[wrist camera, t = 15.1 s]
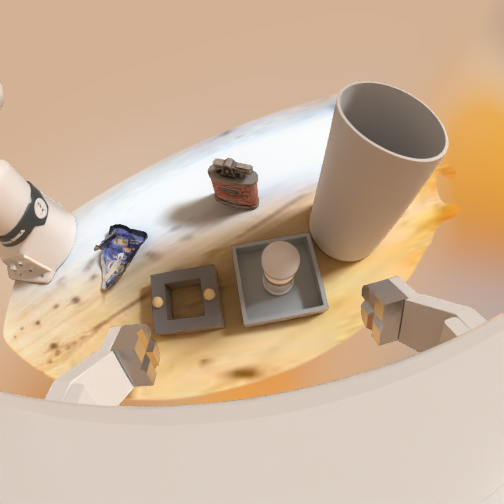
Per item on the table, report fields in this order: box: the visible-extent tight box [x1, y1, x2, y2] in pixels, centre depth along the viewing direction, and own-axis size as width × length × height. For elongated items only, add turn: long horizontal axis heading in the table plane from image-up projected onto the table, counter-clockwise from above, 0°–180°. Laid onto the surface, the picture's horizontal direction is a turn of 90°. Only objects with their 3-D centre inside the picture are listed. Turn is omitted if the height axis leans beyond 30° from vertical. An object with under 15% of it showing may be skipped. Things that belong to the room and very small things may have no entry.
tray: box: [231, 232, 329, 328], centre depth 42 cm, size 12×12×3 cm
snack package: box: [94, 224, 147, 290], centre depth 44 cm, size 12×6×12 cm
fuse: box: [262, 241, 300, 296], centre depth 38 cm, size 5×5×10 cm
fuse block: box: [151, 265, 225, 336], centre depth 41 cm, size 10×9×4 cm
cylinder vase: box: [309, 81, 448, 261], centre depth 35 cm, size 12×12×25 cm
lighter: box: [208, 158, 259, 210], centre depth 45 cm, size 8×3×10 cm, turn 71°
